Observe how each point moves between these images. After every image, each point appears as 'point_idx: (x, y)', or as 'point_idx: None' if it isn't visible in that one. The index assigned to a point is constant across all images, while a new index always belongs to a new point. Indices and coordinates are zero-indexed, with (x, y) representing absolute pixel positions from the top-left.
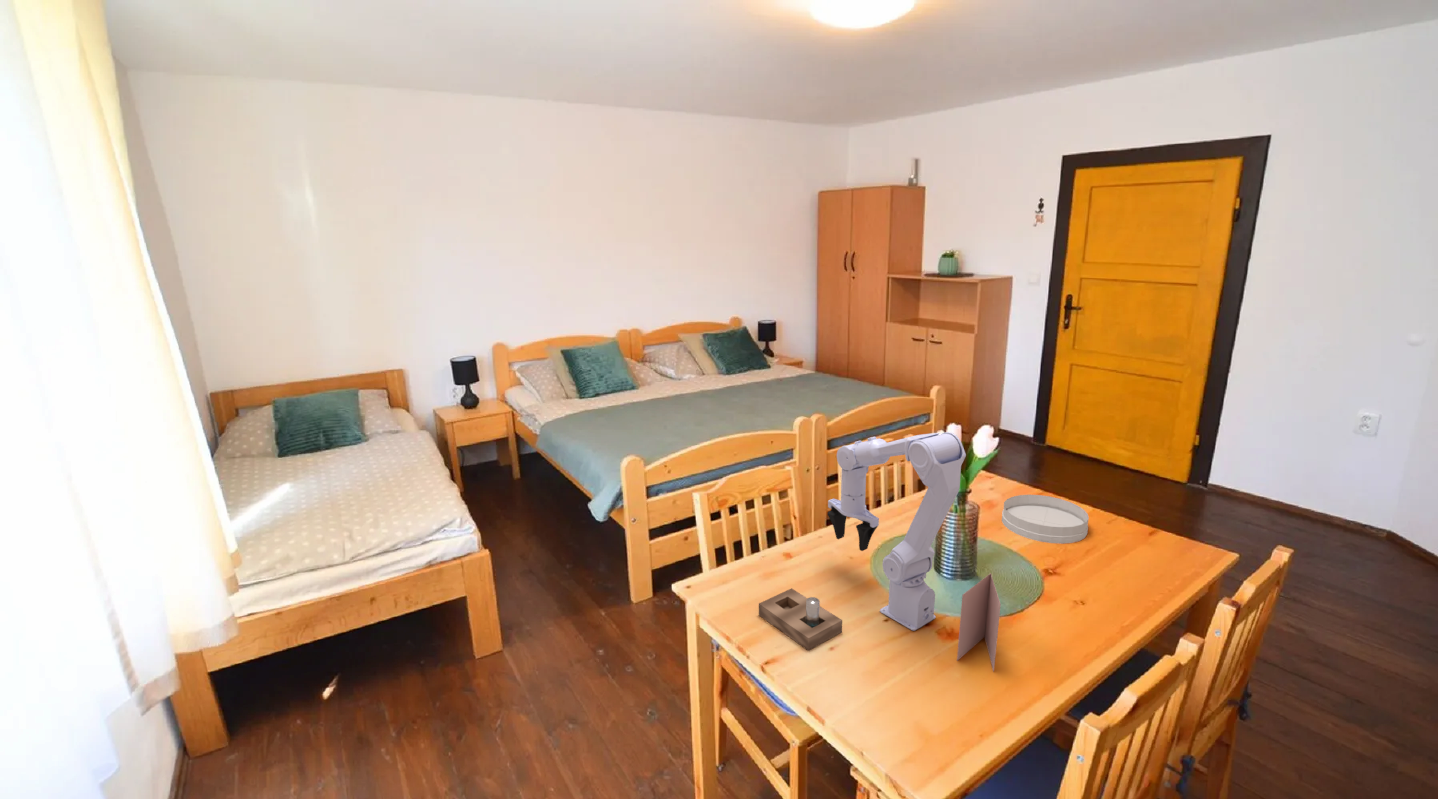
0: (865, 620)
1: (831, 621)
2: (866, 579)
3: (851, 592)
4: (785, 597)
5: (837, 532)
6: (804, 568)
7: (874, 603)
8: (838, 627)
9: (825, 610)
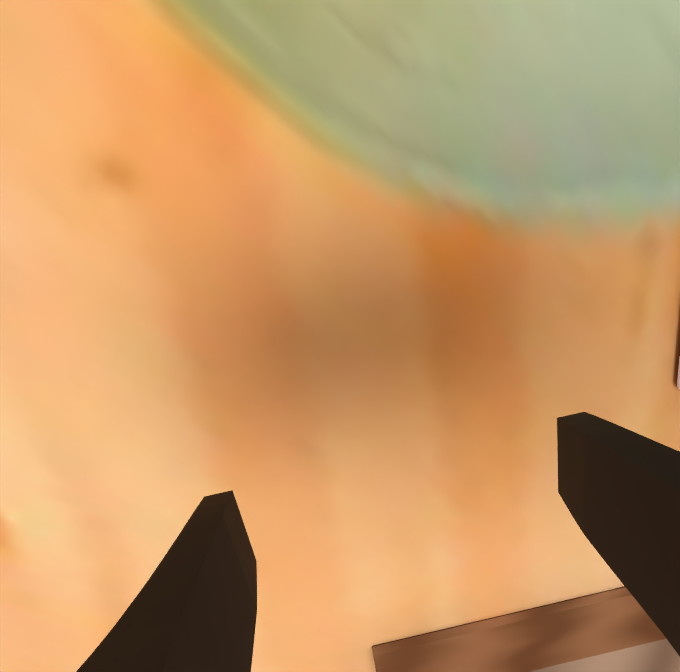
0: None
1: (674, 664)
2: (413, 260)
3: (470, 411)
4: None
5: (249, 653)
6: (141, 504)
7: (611, 366)
8: None
9: (607, 657)
